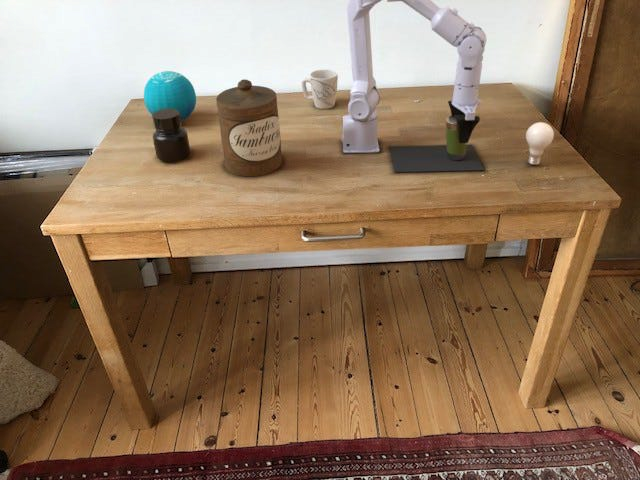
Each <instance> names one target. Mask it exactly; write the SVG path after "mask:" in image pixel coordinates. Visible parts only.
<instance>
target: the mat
mask: <svg viewBox="0 0 640 480" xmlns="http://www.w3.org/2000/svg"><path fill="white" fill-rule="evenodd" d="M389 152H390V155H391V156H390V157H391V160H392V166H393V170H394V174H411V173H412V174H413V173H415V174H417V173H458V172H459V173H460V172H461V173H463V172H485V168H484V166H483V164H482V163H481V160H480V158H479V156H478V154H477V152H476V150H475V148H474V146H473V144H466V157H465V158H464V159H461V160H450V159H448V158H447V145H446V144H444V145H443V144H441V145H440V144H439V145H438V144H437V145H404V146H403V145H398V146H397V145H395V146H392V145H391V146H389Z"/></svg>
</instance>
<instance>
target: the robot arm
mask: <svg viewBox="0 0 640 480" xmlns="http://www.w3.org/2000/svg"><path fill="white" fill-rule="evenodd" d="M381 1H383V0H349V1H348V3H347V6H346V12H347V24H348V25H347V26H348V36H349V50H350V51H349V52H350V61H351V74H352V83H351V88H350V92H349V94H350V99H349V102H348V105H347V112H348V113H349V114H346V115H343V116H342V135H341V143H342V150H343V153H344V154H364V153H365V154H368V153H369V154H371V153H380V145H379V141H378V140H379V139H378V124H379V112H378V110H377V106H378V105H379V103H380V101H381V93H380V91H379V89H378V87H377V81H376V79H375V77H374V70H373V54H372V37H371V22H370V20H371V19H370V12H371V10H372V9H374V7H375V6H376V5H377V4H379V3H380V2H381ZM386 2H388V3H395V2H402V3H404V4H405V5H407V6H408V7H409V8H411V9H412V10H414V11H415V12H416V13H418V14H419V15H421V16H423V17H424V18H425V19H427V20H428V21H429V22H430V27H431V30H432V31H433V32H434V33H436V34H437V35H438V36H439V37H441V38H442V39H443V40H445V42H447V43H448V44H450V45H451V46H452V47H454V48H456V51H457V54H458V59H457V63H456V70H455V76H454V77H455V78H454V84H453V85H454V86H453V95H452V98H451V100H448V101H447V104H448V106H449V109H450V116H453V115H455V118H456V121H457V125H458V140H459V143H466V144H468V143H469V140H470V139H471V136H472V133H473V131H474V130H475V127H476V126H477V125H478V124H479V123H480V122H481V121H480V120H481V118H480V116H479V115H476V109H477V107H478V105H482V103H483V101H482V99H481V98H478V97H479V89H480V83H481V76H482V70H483V69H482V68H483V63H482V62H483V59H484V55H483V54H484V52H485V49H486V48H485V47H486V44H487V34H486V33H485V31H484V30H483V28H482V27H480V26H477V25H475V24H474V23H473V22H470V23H469V22H468V21H467V20H465V19H464V18H463V17H462V16H461V15H460V14H458V13H459V10H458V9H456V8H455V7H453V8H452V9H451V8H450V7H449V6H448V7H439V6H438V5H437V4H435V2H433V1H432V0H386Z"/></svg>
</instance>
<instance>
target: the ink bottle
mask: <svg viewBox="0 0 640 480" xmlns="http://www.w3.org/2000/svg"><path fill="white" fill-rule="evenodd" d="M151 118H152V122H153V126H154V130H155V131H154V132H153V133H152V141H153V147H154V151H155V154H156V158H157V159H158V160H159V161H160V162H163V163H166V164H167V163H168V164H171V163H172V164H173V163H178V162H182V161H184V160H187V158H189V157H190V156H191V154H192V153H191V145H190V140H189V135H188V131H187V130H186V128H184V127H183V126H182V122H181V119H180V114H179V111H178V110H175V109H163V110H159V111H156V112H155V113H153V115H152V114H151Z"/></svg>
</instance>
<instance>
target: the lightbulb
mask: <svg viewBox="0 0 640 480" xmlns="http://www.w3.org/2000/svg"><path fill="white" fill-rule="evenodd" d="M554 137H555V132H554V128H553V127H552V126H551V125H550V124H548V123H546V122H543V121H538V122H535V123H533V124H531V125H530V126H529V127H528V128H527V130H526V133H525V140H526V143H527V145H528V148H529V149H528V151H529V155H528V160H527V162H528V164H530V165H532V166H535V165H540V163H541V157H542V155H543V154H544V151H545V149H547V148H548V147H549V146H550V145H551V144H552V142H553V140H554Z"/></svg>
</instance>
